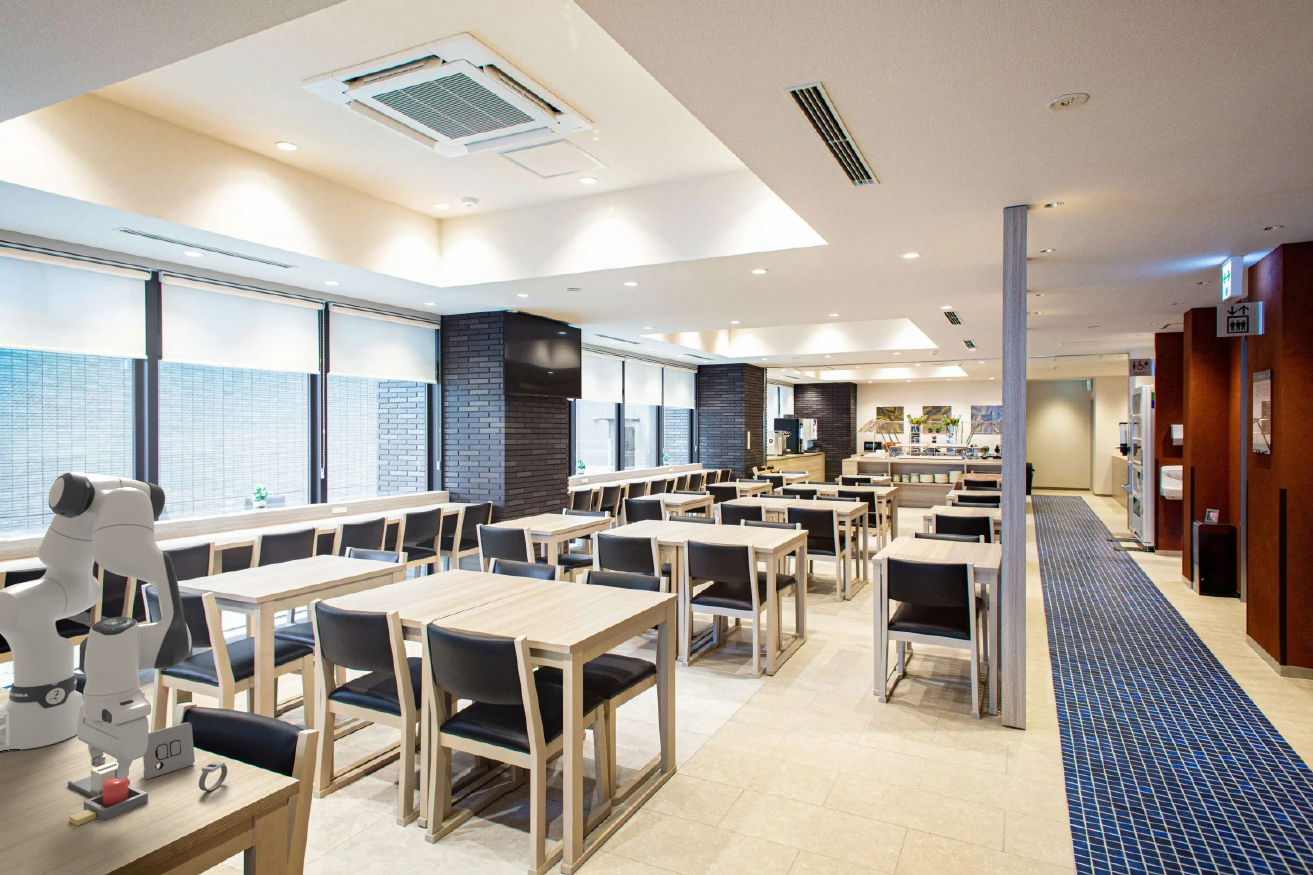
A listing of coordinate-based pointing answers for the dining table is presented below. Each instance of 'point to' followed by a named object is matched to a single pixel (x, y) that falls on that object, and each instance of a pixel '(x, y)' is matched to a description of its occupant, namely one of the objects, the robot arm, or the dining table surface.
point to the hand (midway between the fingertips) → (109, 771)
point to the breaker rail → (85, 787)
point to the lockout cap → (115, 791)
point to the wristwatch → (211, 768)
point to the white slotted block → (102, 775)
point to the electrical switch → (169, 750)
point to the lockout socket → (96, 808)
